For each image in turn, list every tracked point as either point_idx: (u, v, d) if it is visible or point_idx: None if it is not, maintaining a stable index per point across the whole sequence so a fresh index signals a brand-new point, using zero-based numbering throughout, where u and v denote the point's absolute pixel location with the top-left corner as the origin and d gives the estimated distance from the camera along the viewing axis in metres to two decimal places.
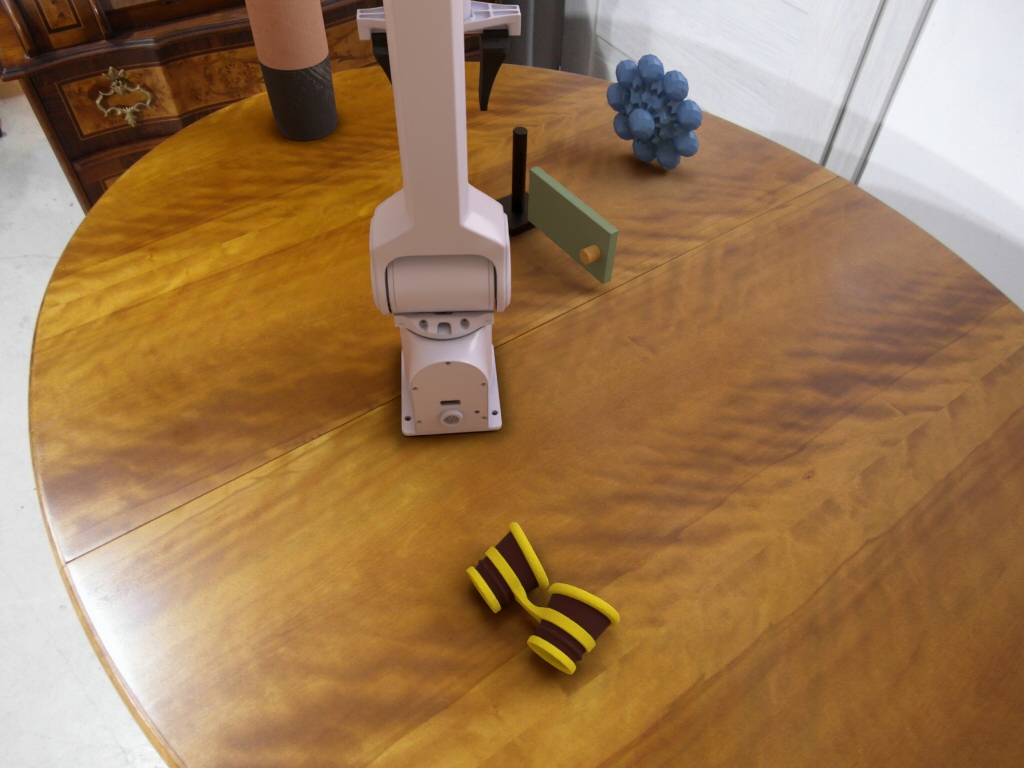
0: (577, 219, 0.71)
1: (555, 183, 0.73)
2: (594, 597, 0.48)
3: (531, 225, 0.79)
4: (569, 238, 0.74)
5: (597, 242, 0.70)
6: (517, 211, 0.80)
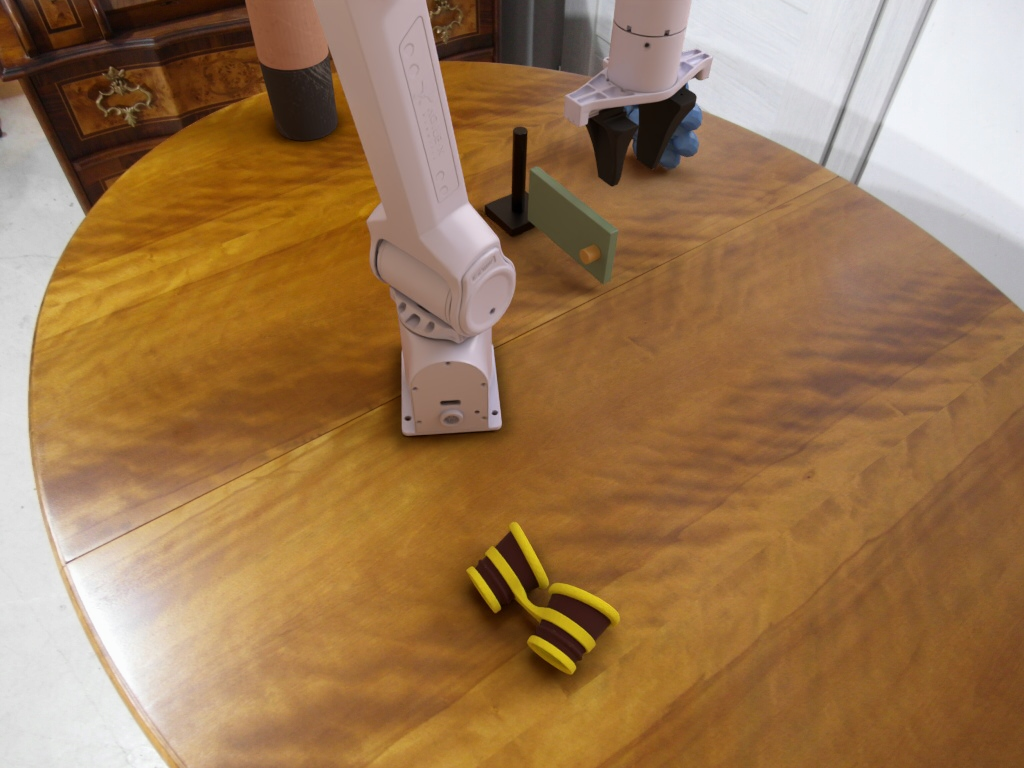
0: (577, 219, 0.71)
1: (555, 183, 0.73)
2: (594, 597, 0.48)
3: (531, 225, 0.79)
4: (569, 238, 0.74)
5: (597, 242, 0.70)
6: (517, 211, 0.80)
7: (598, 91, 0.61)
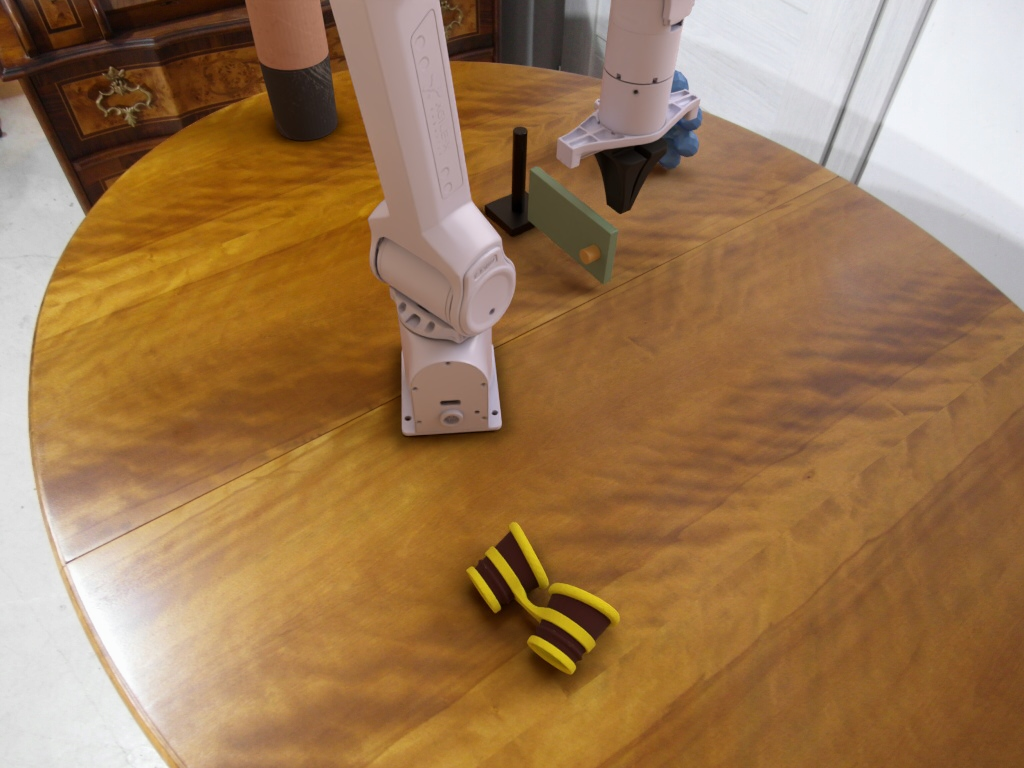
0: (577, 219, 0.71)
1: (555, 183, 0.73)
2: (594, 597, 0.48)
3: (531, 225, 0.79)
4: (569, 238, 0.74)
5: (597, 242, 0.70)
6: (517, 211, 0.80)
7: (589, 134, 0.64)
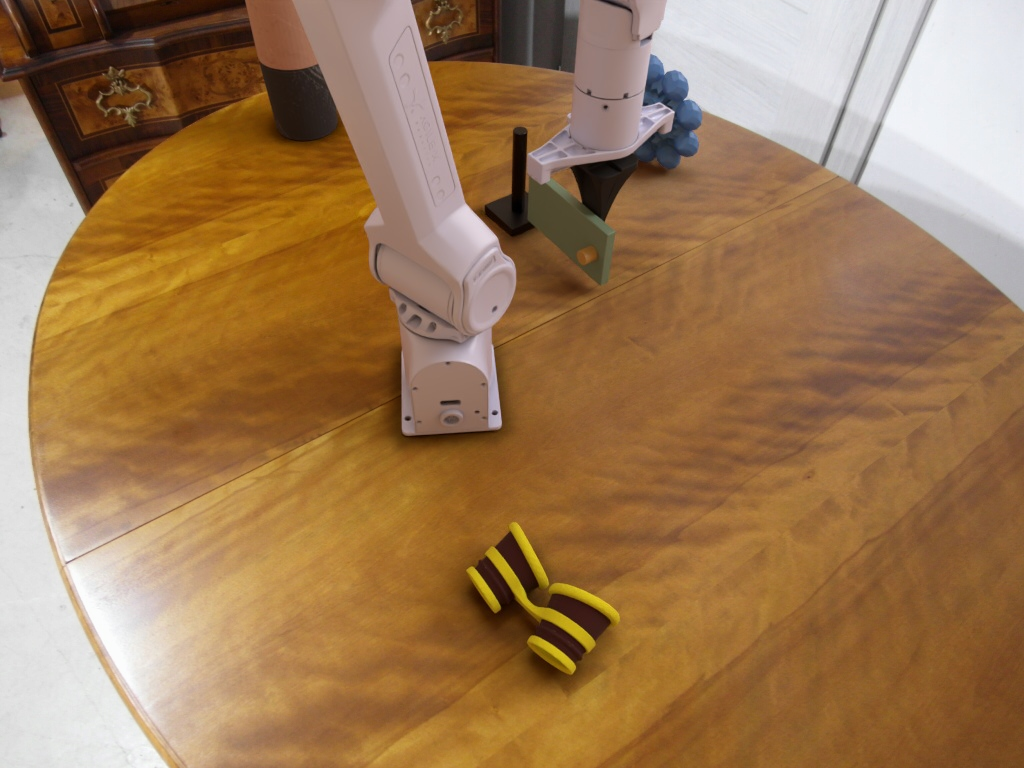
0: (575, 220, 0.71)
1: (554, 183, 0.73)
2: (594, 597, 0.48)
3: (531, 225, 0.79)
4: (567, 238, 0.74)
5: (594, 243, 0.70)
6: (517, 211, 0.80)
7: (560, 149, 0.63)
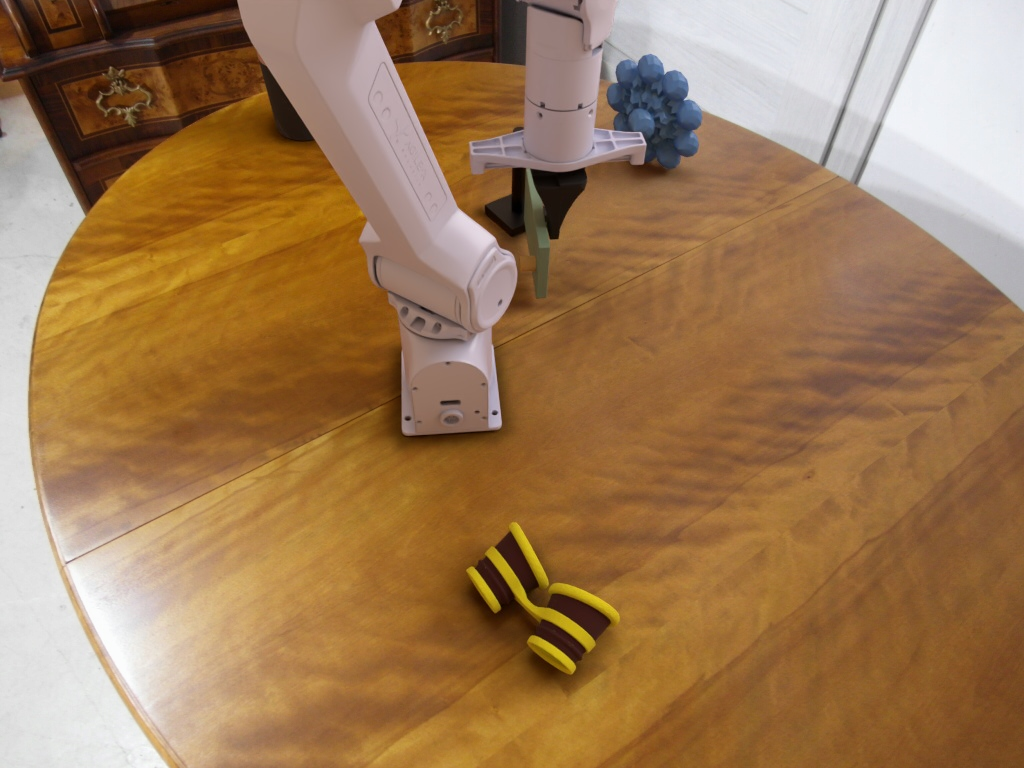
0: (533, 227, 0.70)
1: None
2: (594, 597, 0.48)
3: None
4: (531, 244, 0.73)
5: (536, 253, 0.69)
6: (517, 211, 0.80)
7: (501, 146, 0.63)
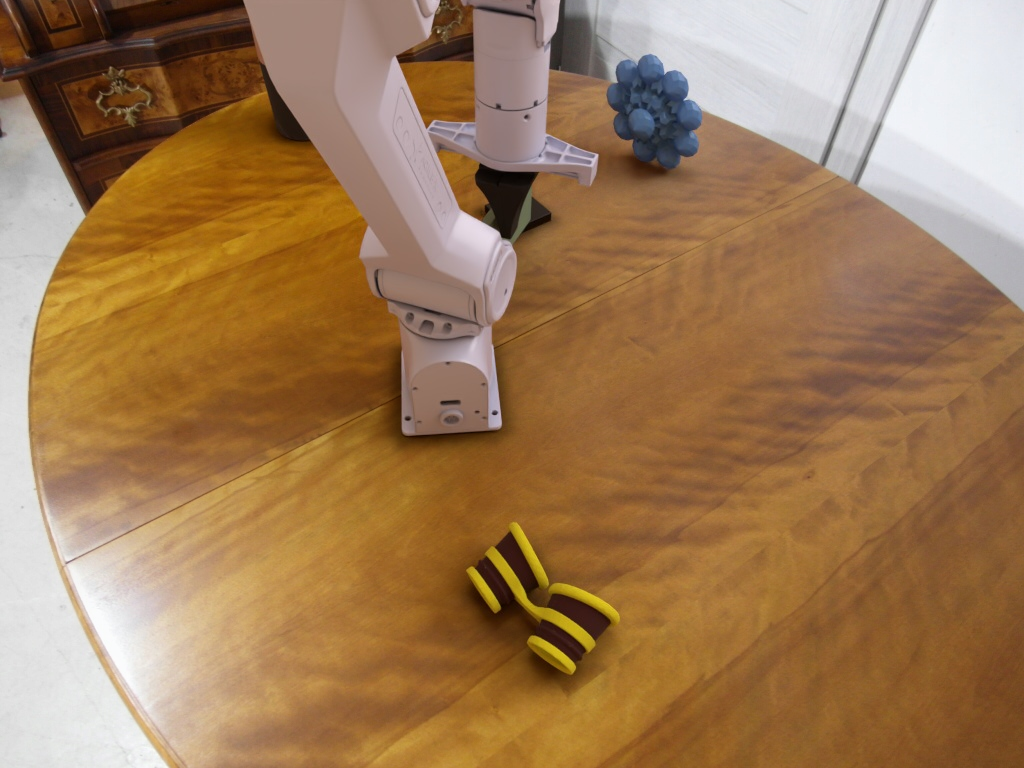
0: None
1: None
2: (594, 597, 0.48)
3: (531, 225, 0.79)
4: None
5: None
6: None
7: (457, 131, 0.64)
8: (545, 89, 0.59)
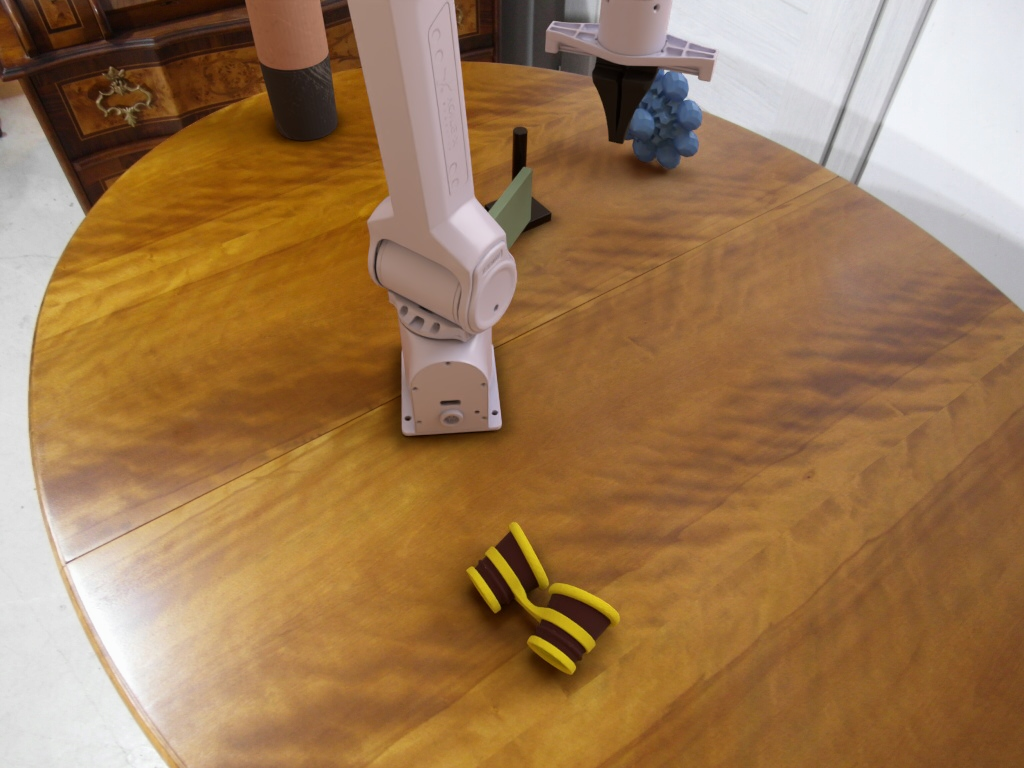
0: None
1: (515, 185, 0.72)
2: (594, 597, 0.48)
3: (531, 225, 0.79)
4: None
5: None
6: None
7: (578, 30, 0.66)
8: None
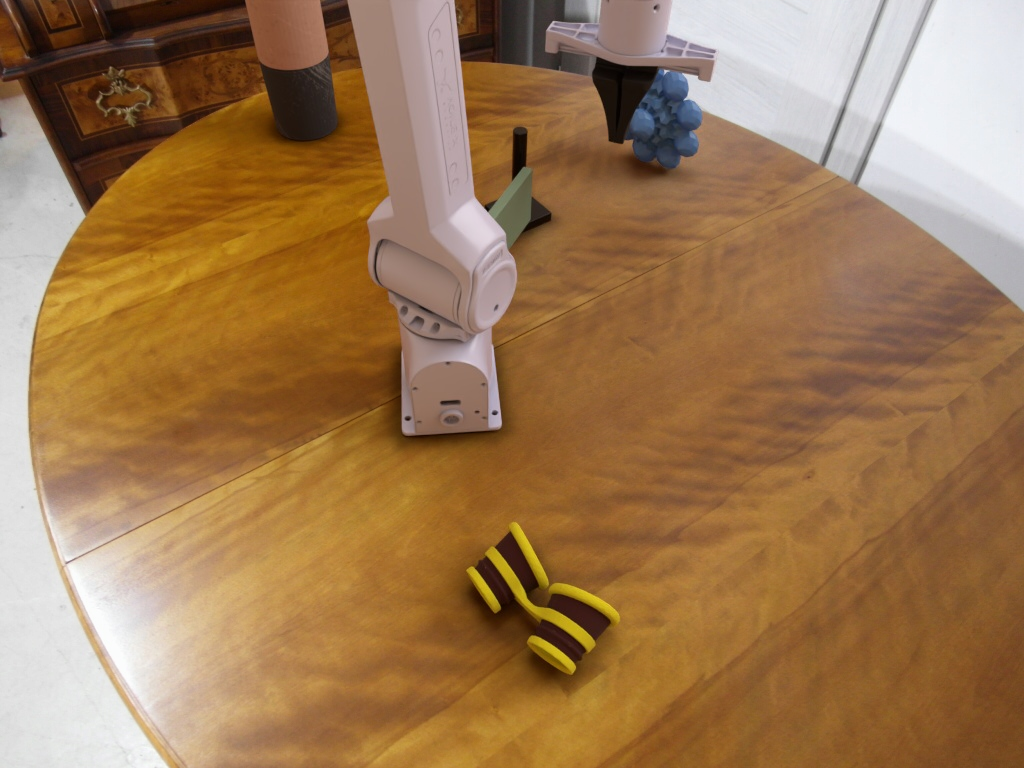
0: None
1: (515, 185, 0.72)
2: (594, 597, 0.48)
3: (531, 225, 0.79)
4: None
5: None
6: None
7: (578, 30, 0.66)
8: None
